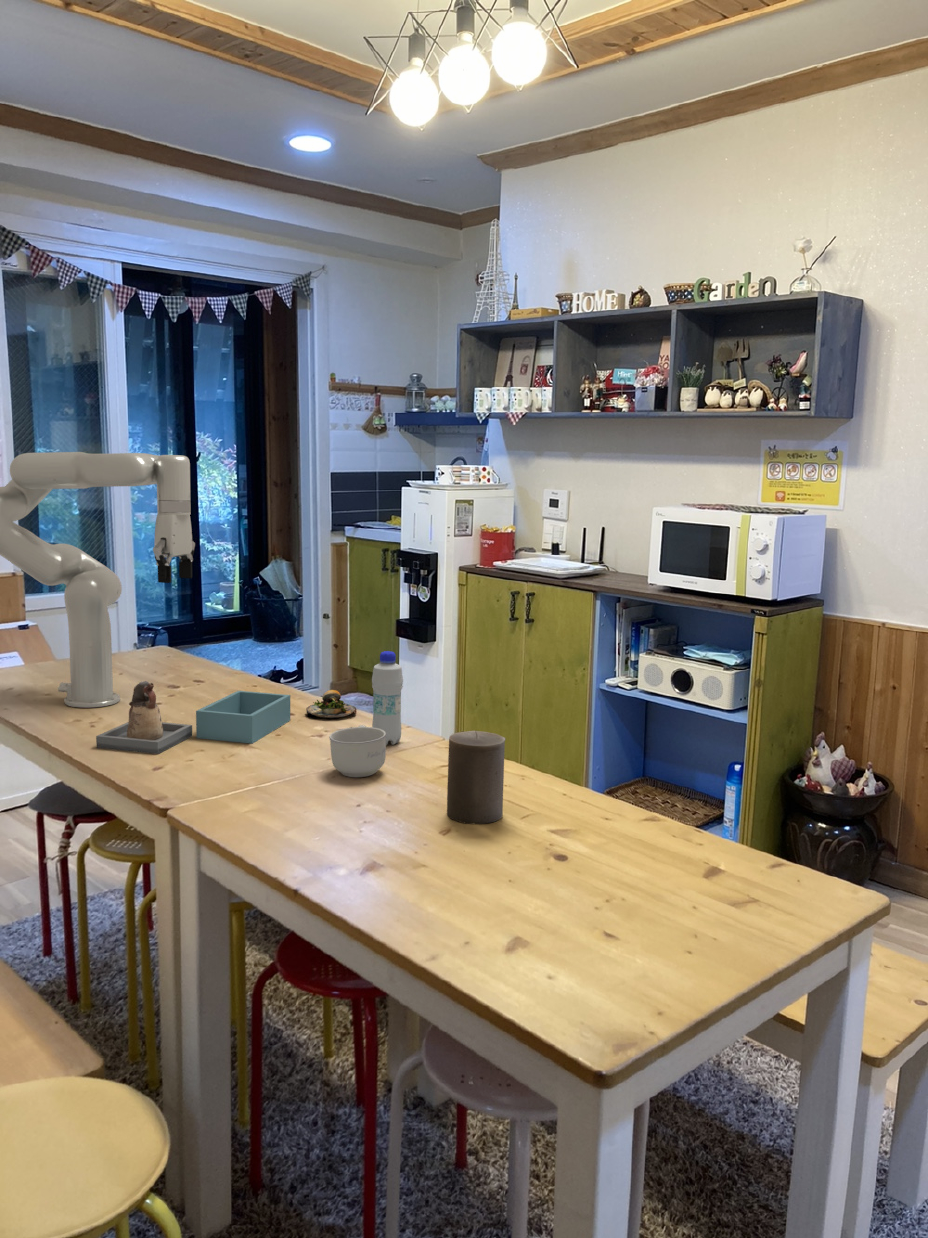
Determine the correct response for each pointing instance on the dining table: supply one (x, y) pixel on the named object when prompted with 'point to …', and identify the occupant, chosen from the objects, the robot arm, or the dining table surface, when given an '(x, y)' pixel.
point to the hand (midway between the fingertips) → (175, 580)
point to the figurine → (144, 714)
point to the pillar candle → (475, 777)
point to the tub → (243, 716)
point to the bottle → (387, 696)
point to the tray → (119, 740)
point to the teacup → (358, 750)
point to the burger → (331, 706)
